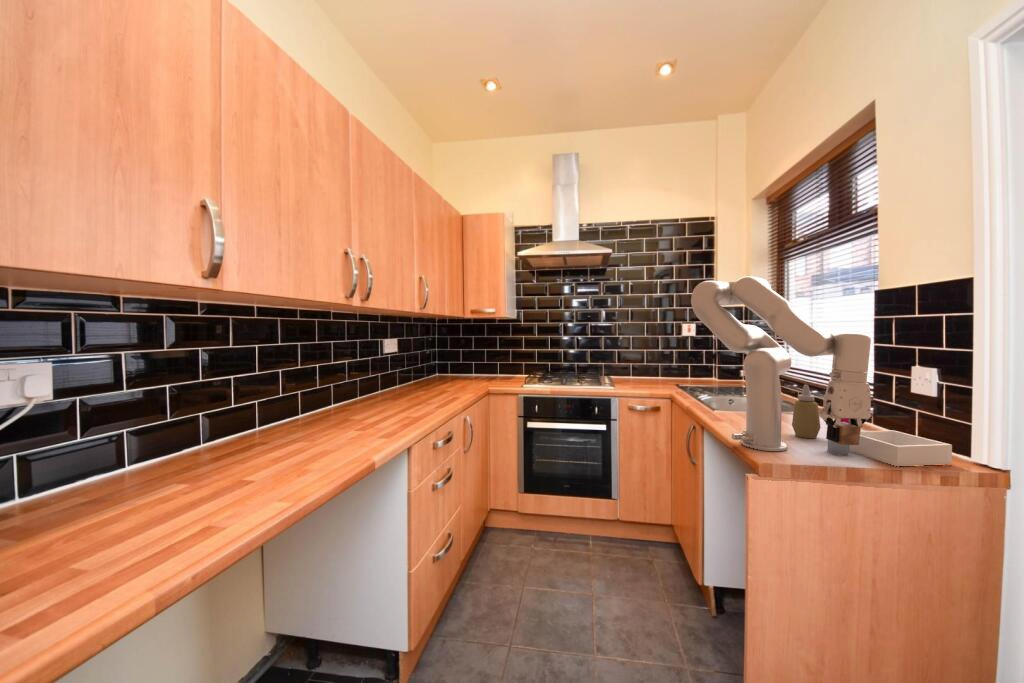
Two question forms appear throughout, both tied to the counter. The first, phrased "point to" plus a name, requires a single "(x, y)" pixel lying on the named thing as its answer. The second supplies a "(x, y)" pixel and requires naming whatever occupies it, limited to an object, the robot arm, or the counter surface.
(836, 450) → the grey upright block
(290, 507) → the counter surface
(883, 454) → the tray
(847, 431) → the walnut cube
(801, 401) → the squeeze bottle
